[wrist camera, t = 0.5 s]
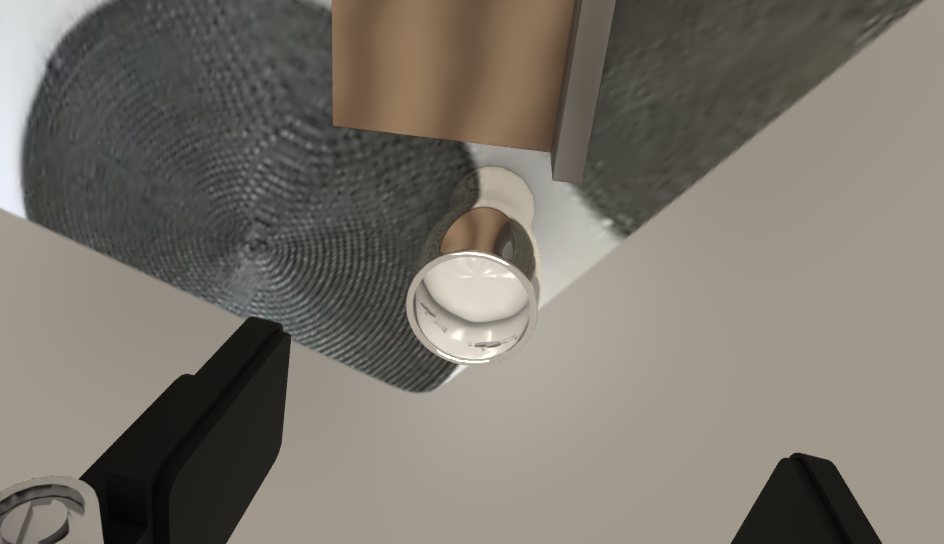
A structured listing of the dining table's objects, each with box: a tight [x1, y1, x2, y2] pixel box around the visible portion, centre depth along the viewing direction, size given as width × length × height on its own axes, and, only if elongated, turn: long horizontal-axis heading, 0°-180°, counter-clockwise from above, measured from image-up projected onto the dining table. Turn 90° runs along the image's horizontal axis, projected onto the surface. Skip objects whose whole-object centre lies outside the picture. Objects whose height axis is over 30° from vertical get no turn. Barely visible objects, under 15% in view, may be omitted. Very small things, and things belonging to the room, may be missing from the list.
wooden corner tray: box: [332, 0, 616, 184], centre depth 34 cm, size 16×14×8 cm
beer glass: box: [406, 167, 542, 366], centre depth 36 cm, size 7×7×15 cm
